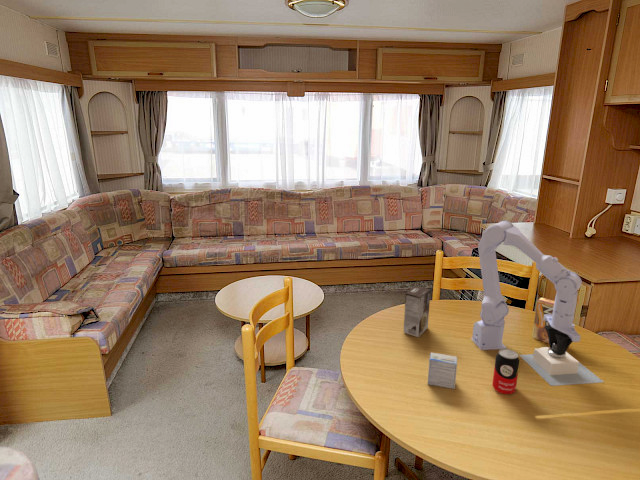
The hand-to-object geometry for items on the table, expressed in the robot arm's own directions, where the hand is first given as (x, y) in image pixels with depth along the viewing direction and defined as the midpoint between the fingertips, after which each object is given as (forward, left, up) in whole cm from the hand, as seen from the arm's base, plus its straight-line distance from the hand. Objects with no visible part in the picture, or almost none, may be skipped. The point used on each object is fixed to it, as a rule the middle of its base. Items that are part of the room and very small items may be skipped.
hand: (556, 350), depth 131 cm
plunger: (0, 0, -5) cm, 5 cm away
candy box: (+8, +16, -6) cm, 19 cm away
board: (+1, -1, -6) cm, 6 cm away
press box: (0, 0, -6) cm, 6 cm away
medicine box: (-39, -4, -6) cm, 40 cm away
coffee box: (-36, +29, -6) cm, 47 cm away
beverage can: (-22, -9, -6) cm, 25 cm away
